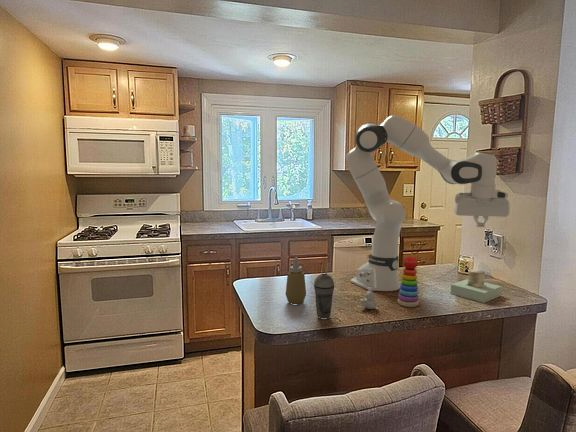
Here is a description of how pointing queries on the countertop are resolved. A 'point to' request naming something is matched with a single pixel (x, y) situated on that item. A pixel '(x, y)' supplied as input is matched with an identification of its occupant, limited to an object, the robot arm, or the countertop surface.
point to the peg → (476, 278)
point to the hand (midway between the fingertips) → (480, 227)
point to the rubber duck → (369, 300)
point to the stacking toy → (409, 284)
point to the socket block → (476, 291)
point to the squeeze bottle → (295, 284)
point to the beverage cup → (324, 294)
